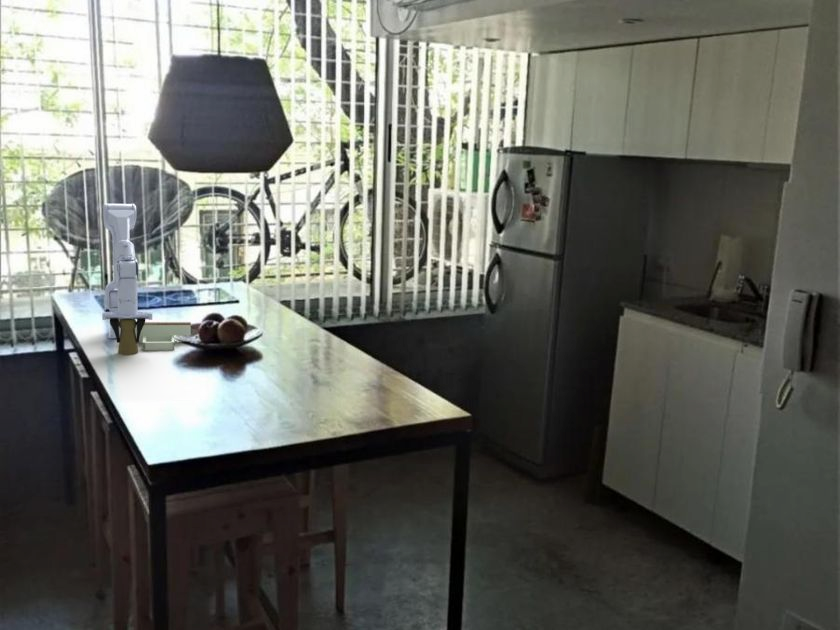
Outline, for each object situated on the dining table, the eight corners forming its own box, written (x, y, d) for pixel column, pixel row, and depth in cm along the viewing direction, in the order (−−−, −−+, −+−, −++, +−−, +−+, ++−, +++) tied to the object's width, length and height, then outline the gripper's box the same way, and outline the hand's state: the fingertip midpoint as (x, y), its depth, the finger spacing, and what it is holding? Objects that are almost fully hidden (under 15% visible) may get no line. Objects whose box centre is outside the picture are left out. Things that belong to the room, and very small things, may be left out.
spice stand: (126, 341, 268) (126, 322, 266) (190, 341, 273) (190, 322, 272) (125, 350, 258) (124, 330, 257) (191, 349, 264) (191, 329, 263)
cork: (131, 356, 253) (131, 321, 251) (114, 353, 254) (113, 319, 252) (142, 351, 259) (141, 317, 256) (124, 348, 260) (124, 315, 257)
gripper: (101, 302, 247) (102, 345, 250) (151, 302, 251) (152, 344, 254) (103, 296, 253) (103, 339, 256) (152, 297, 258) (152, 338, 261)
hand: (128, 341), depth 256 cm, fingers open, 5 cm apart
